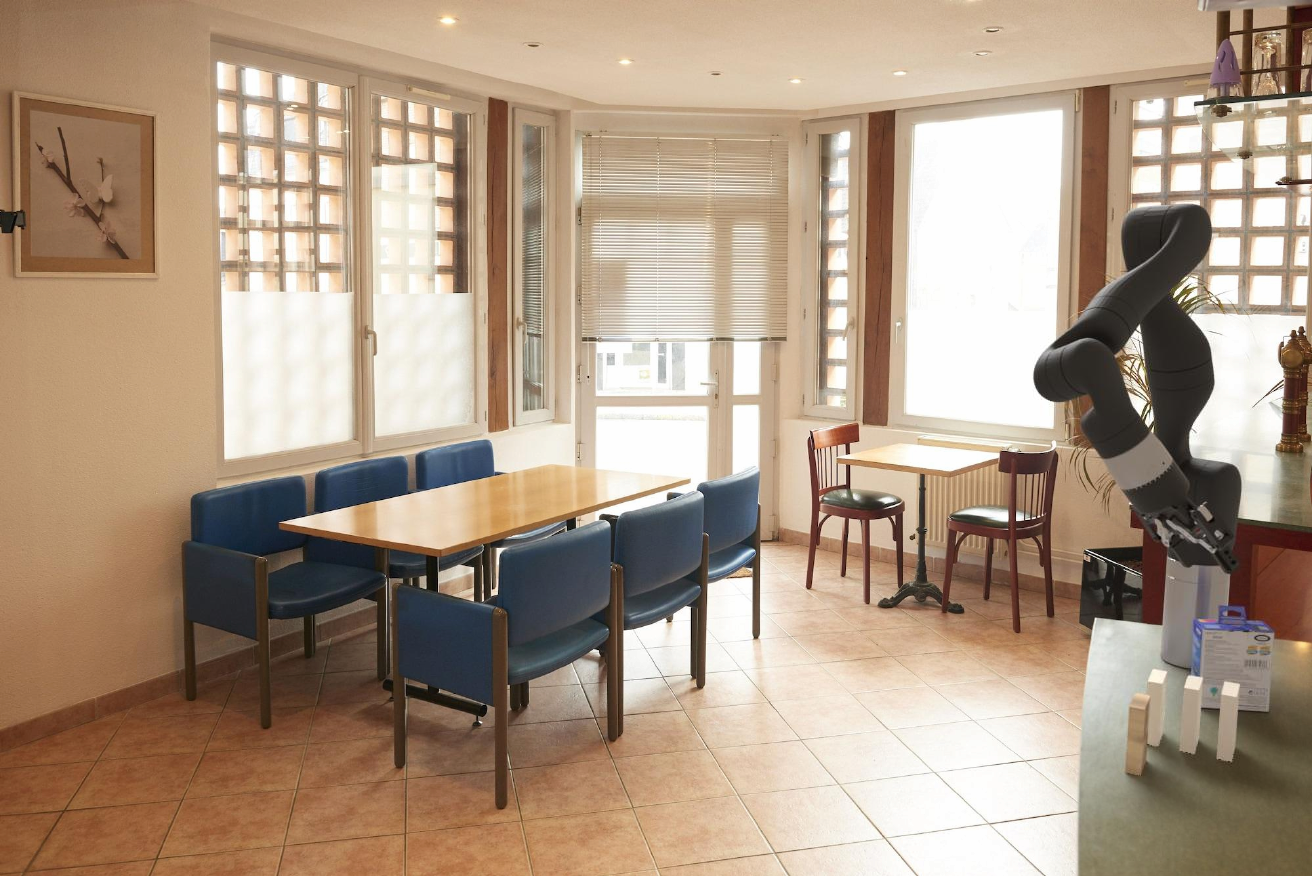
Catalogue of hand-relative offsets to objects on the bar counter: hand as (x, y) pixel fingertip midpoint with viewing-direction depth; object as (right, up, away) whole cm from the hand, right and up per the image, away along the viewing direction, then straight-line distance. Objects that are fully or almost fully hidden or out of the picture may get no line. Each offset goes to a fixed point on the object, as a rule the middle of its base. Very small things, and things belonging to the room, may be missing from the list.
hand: (1212, 567), depth 143 cm
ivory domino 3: (+1, -25, -1) cm, 25 cm away
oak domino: (-12, -25, -4) cm, 28 cm away
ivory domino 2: (-2, -24, +2) cm, 24 cm away
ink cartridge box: (+10, -22, +15) cm, 29 cm away
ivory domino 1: (-6, -24, +4) cm, 25 cm away
